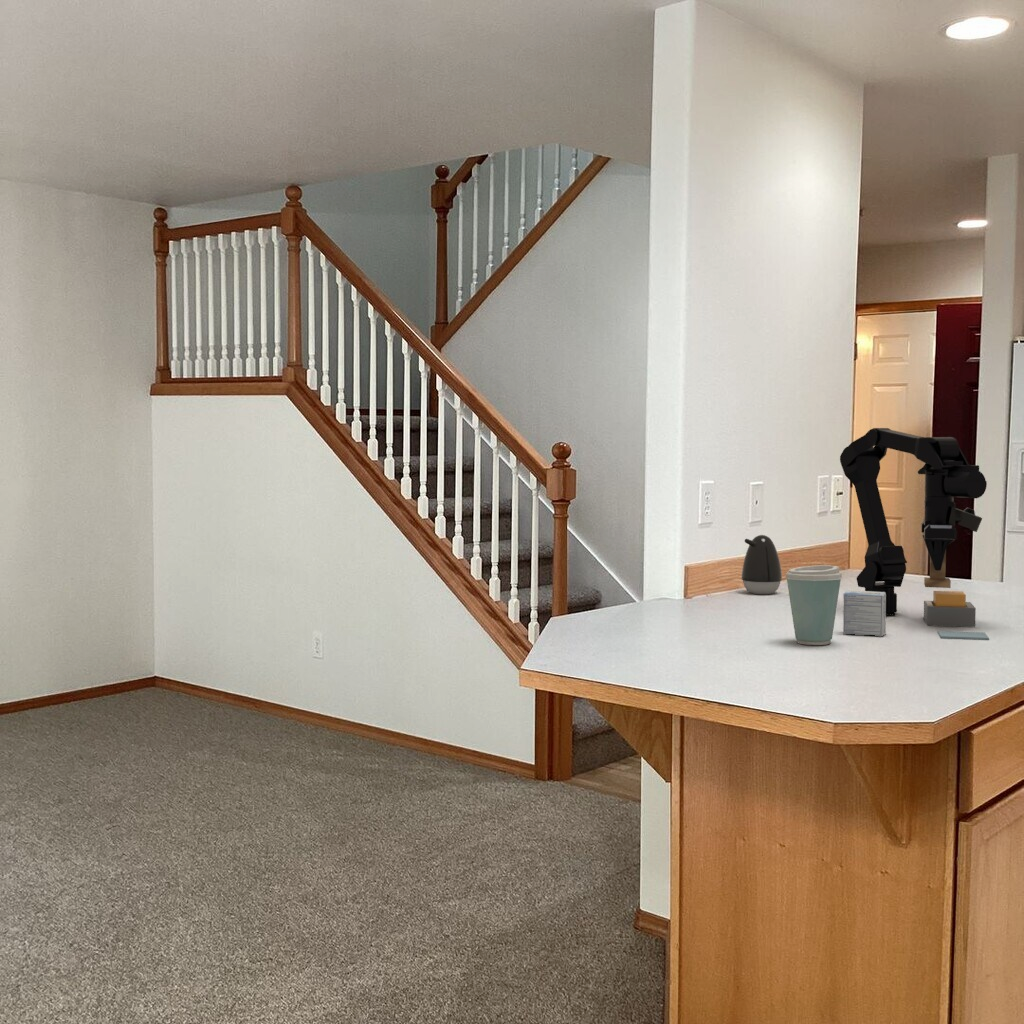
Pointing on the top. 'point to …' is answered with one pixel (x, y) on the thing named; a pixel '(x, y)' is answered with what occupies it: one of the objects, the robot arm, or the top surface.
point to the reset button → (949, 598)
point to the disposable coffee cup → (814, 602)
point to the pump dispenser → (761, 566)
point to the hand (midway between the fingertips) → (937, 569)
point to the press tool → (937, 576)
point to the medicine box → (864, 613)
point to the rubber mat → (963, 635)
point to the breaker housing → (949, 615)
